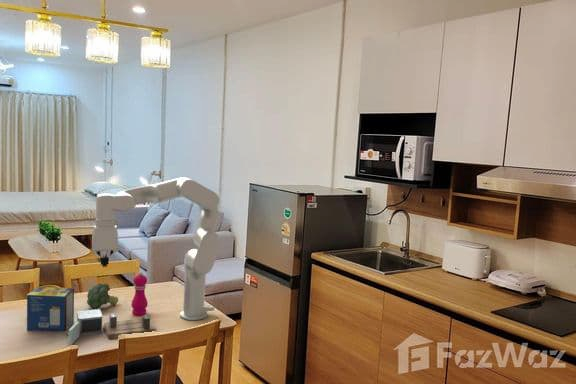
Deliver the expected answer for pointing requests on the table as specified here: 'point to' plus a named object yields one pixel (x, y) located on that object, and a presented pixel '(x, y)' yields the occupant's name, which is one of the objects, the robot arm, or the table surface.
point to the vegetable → (100, 296)
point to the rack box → (90, 321)
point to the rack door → (74, 332)
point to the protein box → (50, 309)
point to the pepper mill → (139, 295)
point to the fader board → (130, 327)
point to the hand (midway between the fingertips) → (104, 266)
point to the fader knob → (113, 320)
